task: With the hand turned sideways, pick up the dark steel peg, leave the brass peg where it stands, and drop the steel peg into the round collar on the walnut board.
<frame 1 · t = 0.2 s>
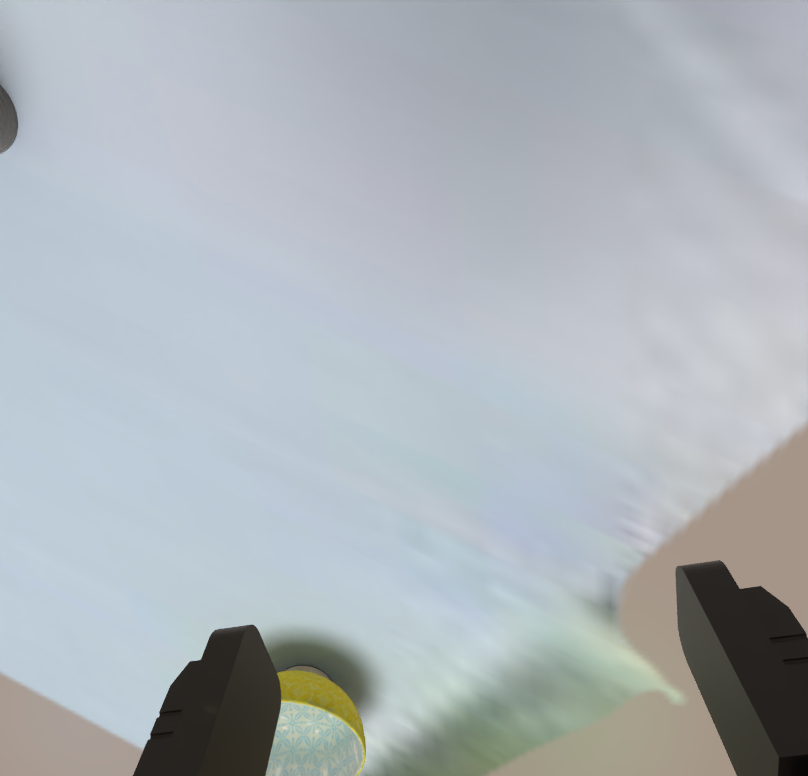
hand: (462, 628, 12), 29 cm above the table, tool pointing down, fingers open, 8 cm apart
bowl: (306, 682, 55), on the table
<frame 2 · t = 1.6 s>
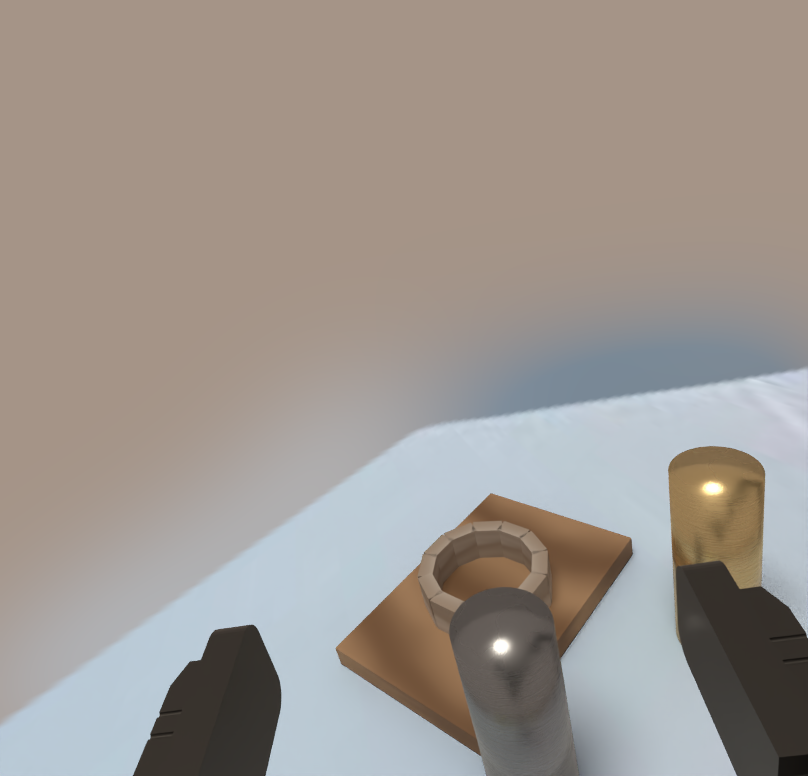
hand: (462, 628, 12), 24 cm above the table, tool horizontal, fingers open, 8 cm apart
socket board: (491, 607, 44), on the table
brass peg: (716, 633, 38), on the table
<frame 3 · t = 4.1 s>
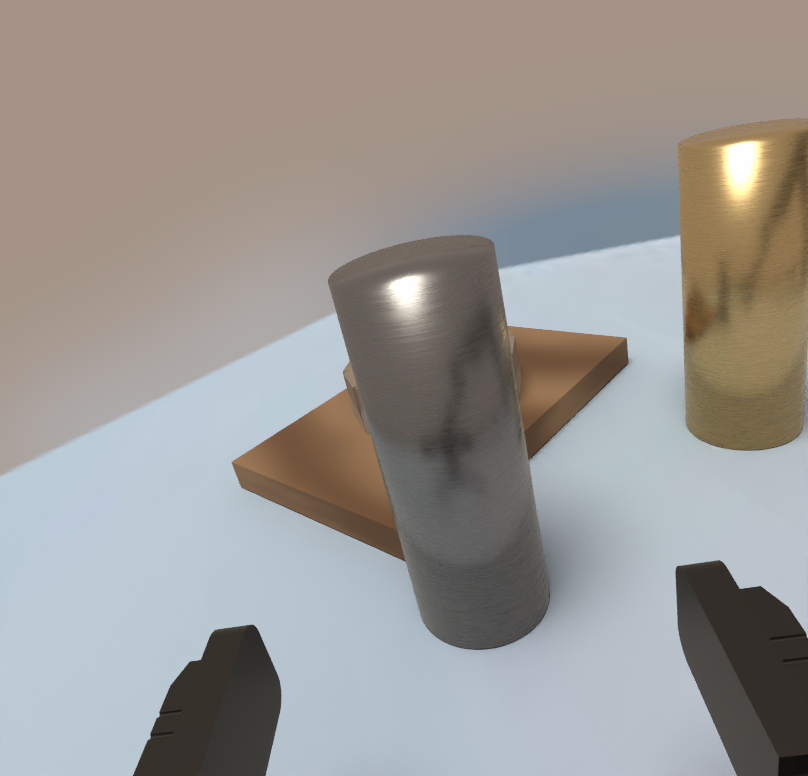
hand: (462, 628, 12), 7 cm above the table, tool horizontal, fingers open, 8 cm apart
socket board: (443, 422, 34), on the table
steel peg: (483, 596, 22), on the table
brass peg: (742, 421, 28), on the table
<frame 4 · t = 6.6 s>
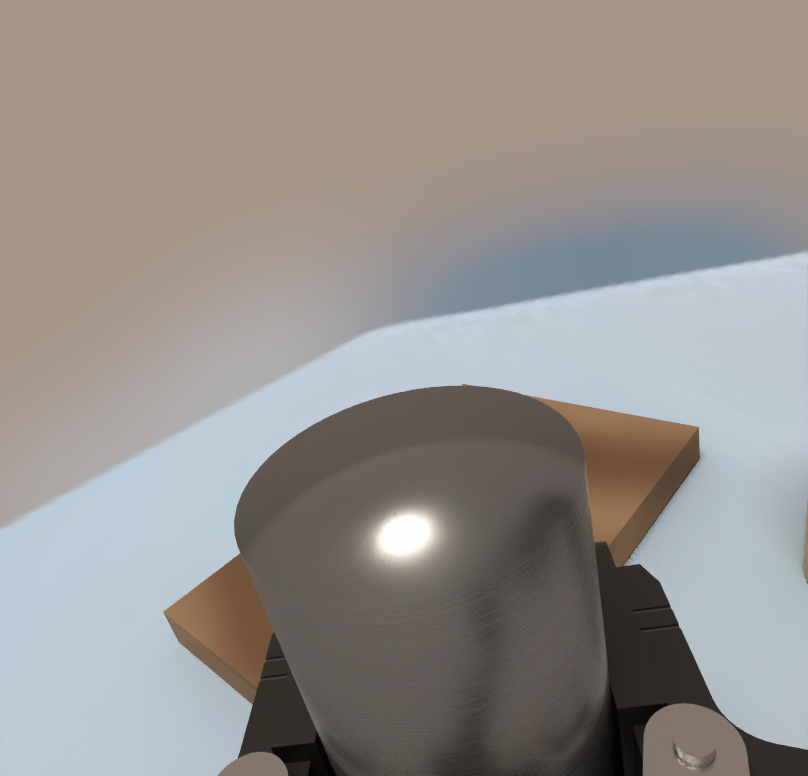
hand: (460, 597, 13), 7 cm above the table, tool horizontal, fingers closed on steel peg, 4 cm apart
socket board: (453, 544, 25), on the table
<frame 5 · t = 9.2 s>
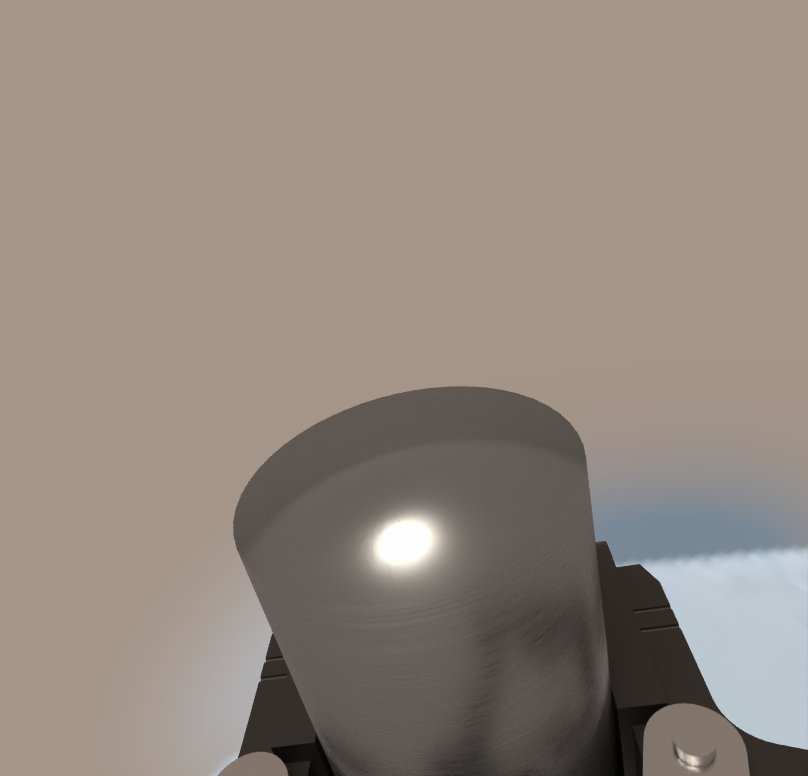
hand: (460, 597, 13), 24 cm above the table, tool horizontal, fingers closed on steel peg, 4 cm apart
when the fingers open (10 cm above the table, at t = 11.8 s): steel peg drops 1 cm, resting on socket board.
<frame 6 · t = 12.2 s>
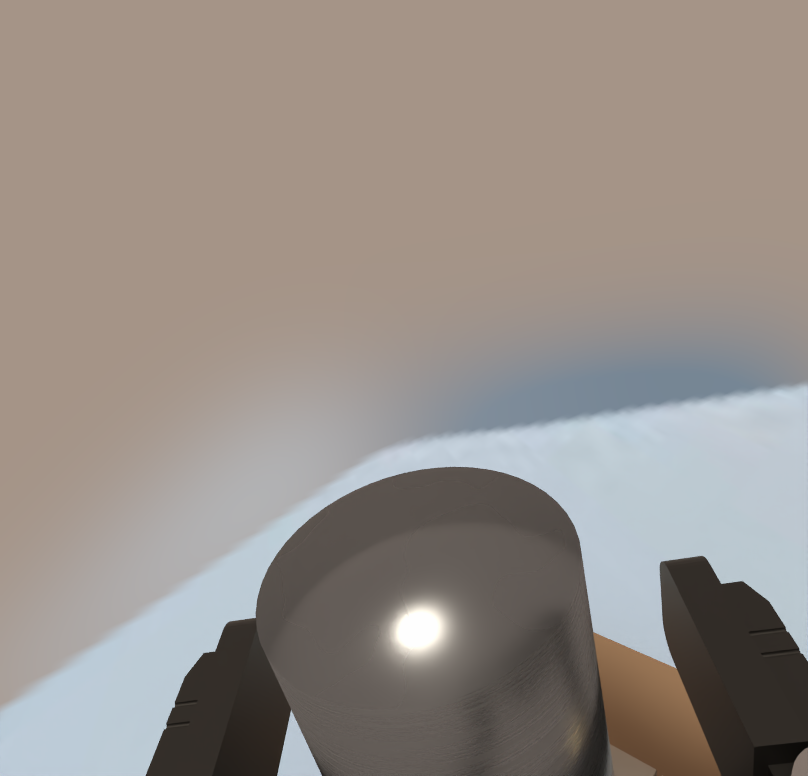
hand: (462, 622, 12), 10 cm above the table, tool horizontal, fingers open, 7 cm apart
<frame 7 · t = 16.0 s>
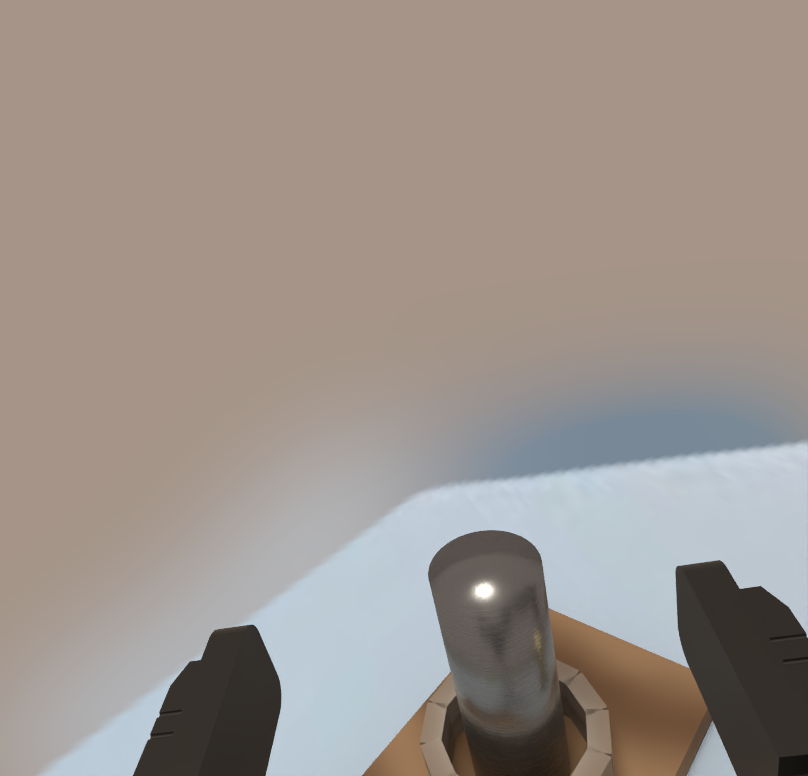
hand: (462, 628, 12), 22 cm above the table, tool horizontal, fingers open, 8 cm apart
steel peg: (521, 763, 30), point 2 cm above the table, touching socket board
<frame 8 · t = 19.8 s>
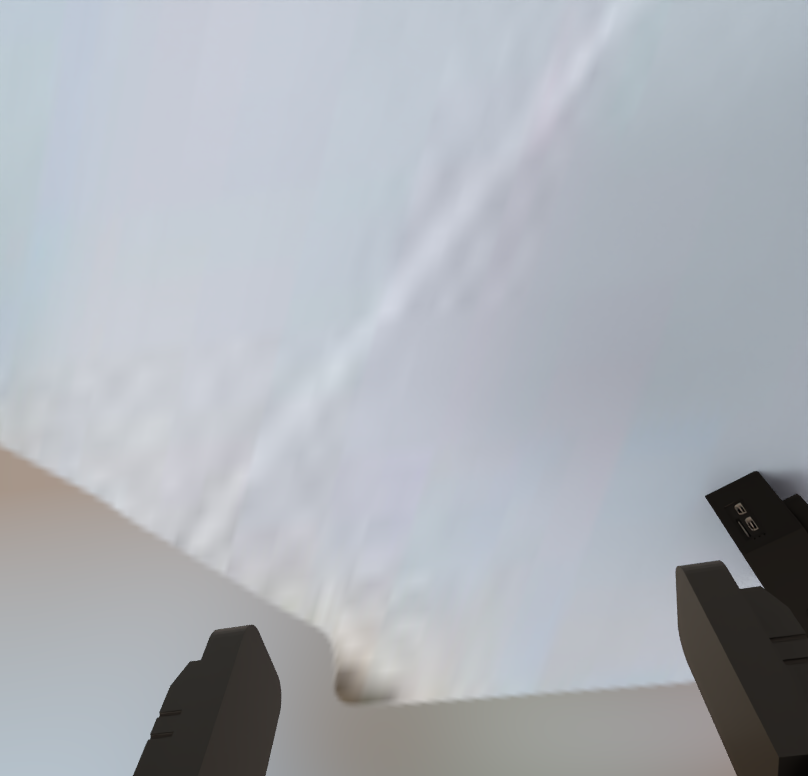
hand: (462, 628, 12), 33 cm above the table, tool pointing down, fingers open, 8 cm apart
digital camera: (762, 521, 52), on the table
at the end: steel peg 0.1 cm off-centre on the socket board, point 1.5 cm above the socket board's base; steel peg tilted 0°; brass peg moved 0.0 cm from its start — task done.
